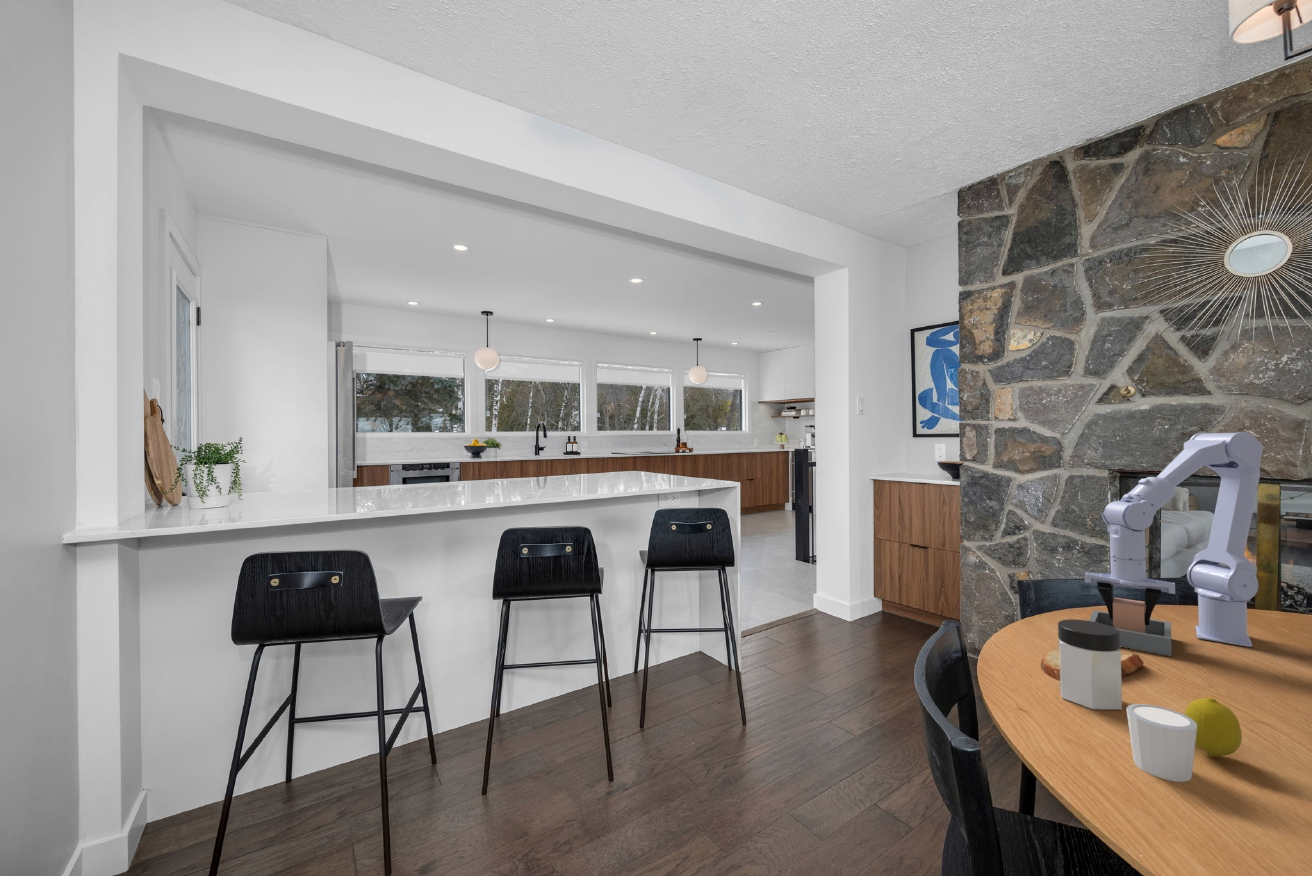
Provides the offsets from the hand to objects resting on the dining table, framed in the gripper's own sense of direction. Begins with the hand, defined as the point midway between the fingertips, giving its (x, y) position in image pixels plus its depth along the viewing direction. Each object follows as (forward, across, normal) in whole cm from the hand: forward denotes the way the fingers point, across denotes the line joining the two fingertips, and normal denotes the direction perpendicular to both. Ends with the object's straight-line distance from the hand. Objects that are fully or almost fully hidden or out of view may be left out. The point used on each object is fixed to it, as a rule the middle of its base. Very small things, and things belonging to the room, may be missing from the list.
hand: (1129, 621), depth 117 cm
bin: (+4, 0, 0) cm, 4 cm away
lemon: (+4, +10, -48) cm, 50 cm away
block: (+2, 0, 0) cm, 2 cm away
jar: (+4, -4, -38) cm, 39 cm away
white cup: (+4, +6, -56) cm, 57 cm away
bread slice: (+5, -4, -23) cm, 24 cm away
